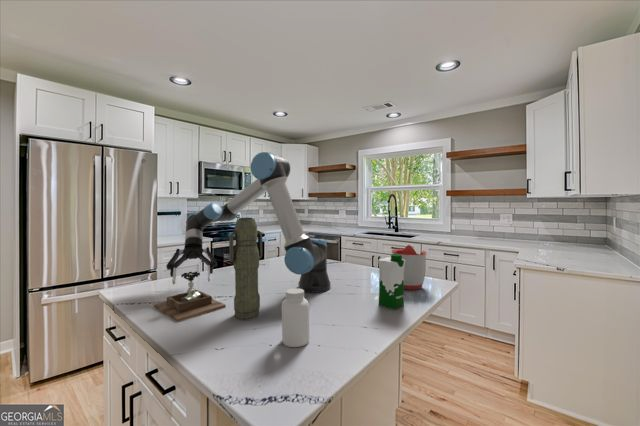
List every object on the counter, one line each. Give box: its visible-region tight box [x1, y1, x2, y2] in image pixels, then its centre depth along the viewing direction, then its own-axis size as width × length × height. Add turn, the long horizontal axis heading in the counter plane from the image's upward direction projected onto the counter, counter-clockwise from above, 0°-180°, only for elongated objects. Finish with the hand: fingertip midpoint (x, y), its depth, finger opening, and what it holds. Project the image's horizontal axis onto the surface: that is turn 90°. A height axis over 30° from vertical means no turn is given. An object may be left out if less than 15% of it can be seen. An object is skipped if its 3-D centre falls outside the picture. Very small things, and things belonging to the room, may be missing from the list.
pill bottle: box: [281, 287, 310, 348], centre depth 85 cm, size 8×8×15 cm
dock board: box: [153, 289, 226, 323], centre depth 113 cm, size 22×18×4 cm
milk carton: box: [377, 254, 405, 310], centre depth 114 cm, size 9×9×20 cm
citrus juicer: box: [391, 244, 427, 291], centre depth 138 cm, size 16×17×20 cm
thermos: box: [228, 217, 263, 321], centre depth 104 cm, size 9×12×35 cm
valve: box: [180, 271, 201, 303], centre depth 113 cm, size 7×7×12 cm
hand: (191, 281), depth 123 cm, fingers open, 13 cm apart
